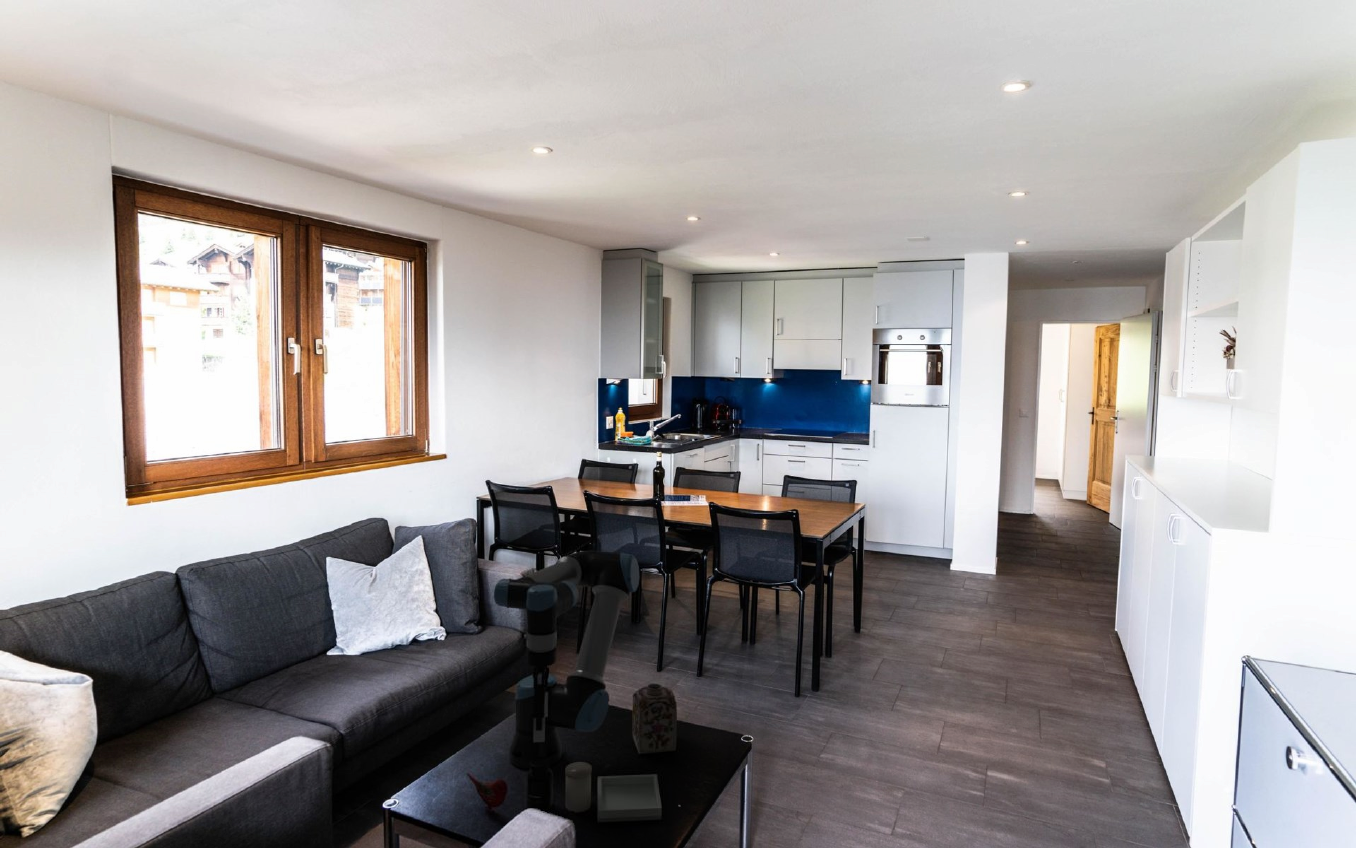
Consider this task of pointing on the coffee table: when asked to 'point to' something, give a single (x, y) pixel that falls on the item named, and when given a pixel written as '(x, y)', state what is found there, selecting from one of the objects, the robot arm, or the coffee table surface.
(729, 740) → the coffee table surface
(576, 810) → the cream canister
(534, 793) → the supplement bottle
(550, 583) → the robot arm
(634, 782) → the sage tray
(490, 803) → the decorative bird figurine
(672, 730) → the decorative jar
